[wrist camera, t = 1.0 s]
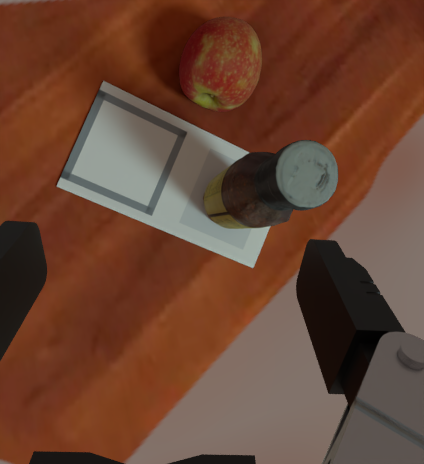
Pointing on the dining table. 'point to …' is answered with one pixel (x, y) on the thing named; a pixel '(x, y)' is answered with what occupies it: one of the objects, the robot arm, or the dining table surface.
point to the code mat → (155, 171)
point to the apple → (221, 64)
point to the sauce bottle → (271, 186)
